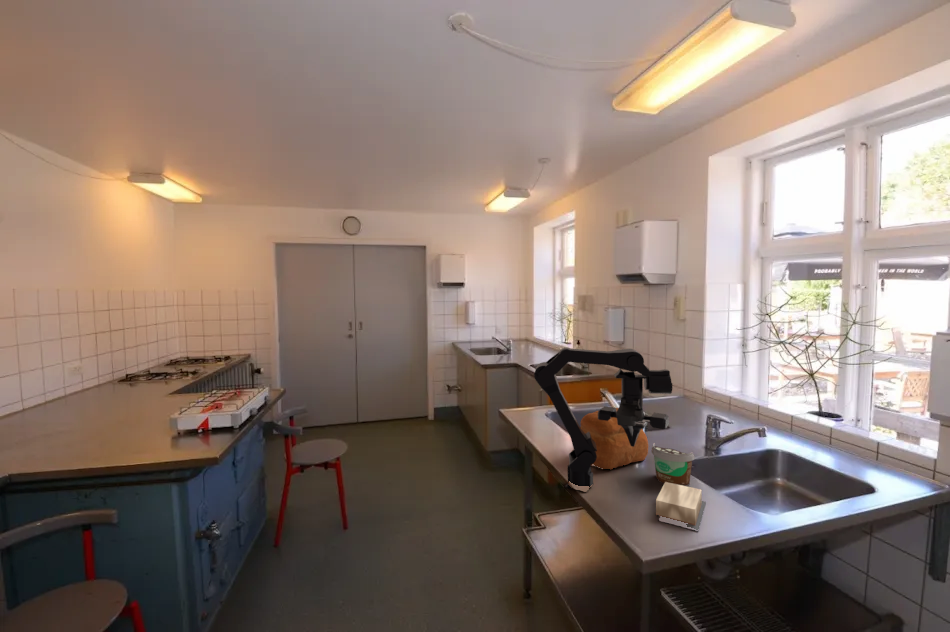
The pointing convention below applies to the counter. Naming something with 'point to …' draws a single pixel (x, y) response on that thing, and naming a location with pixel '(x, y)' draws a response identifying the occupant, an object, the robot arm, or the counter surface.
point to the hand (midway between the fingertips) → (632, 446)
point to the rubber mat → (698, 517)
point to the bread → (613, 442)
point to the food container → (672, 465)
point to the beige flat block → (679, 503)
